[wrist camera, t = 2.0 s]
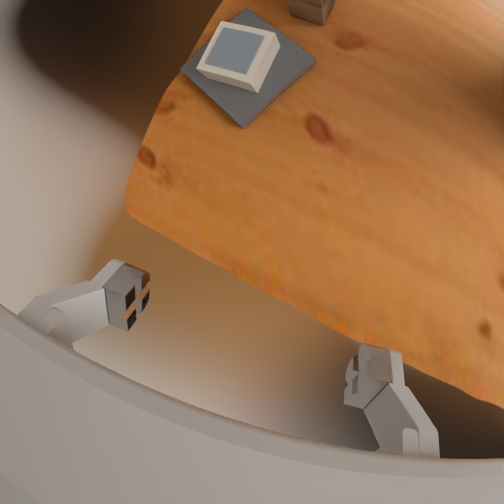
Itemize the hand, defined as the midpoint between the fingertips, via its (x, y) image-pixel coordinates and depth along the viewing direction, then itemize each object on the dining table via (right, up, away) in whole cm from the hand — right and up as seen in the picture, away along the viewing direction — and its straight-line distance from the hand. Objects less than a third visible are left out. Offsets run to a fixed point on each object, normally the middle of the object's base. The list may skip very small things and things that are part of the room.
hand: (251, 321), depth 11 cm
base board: (-1, +29, +29) cm, 41 cm away
